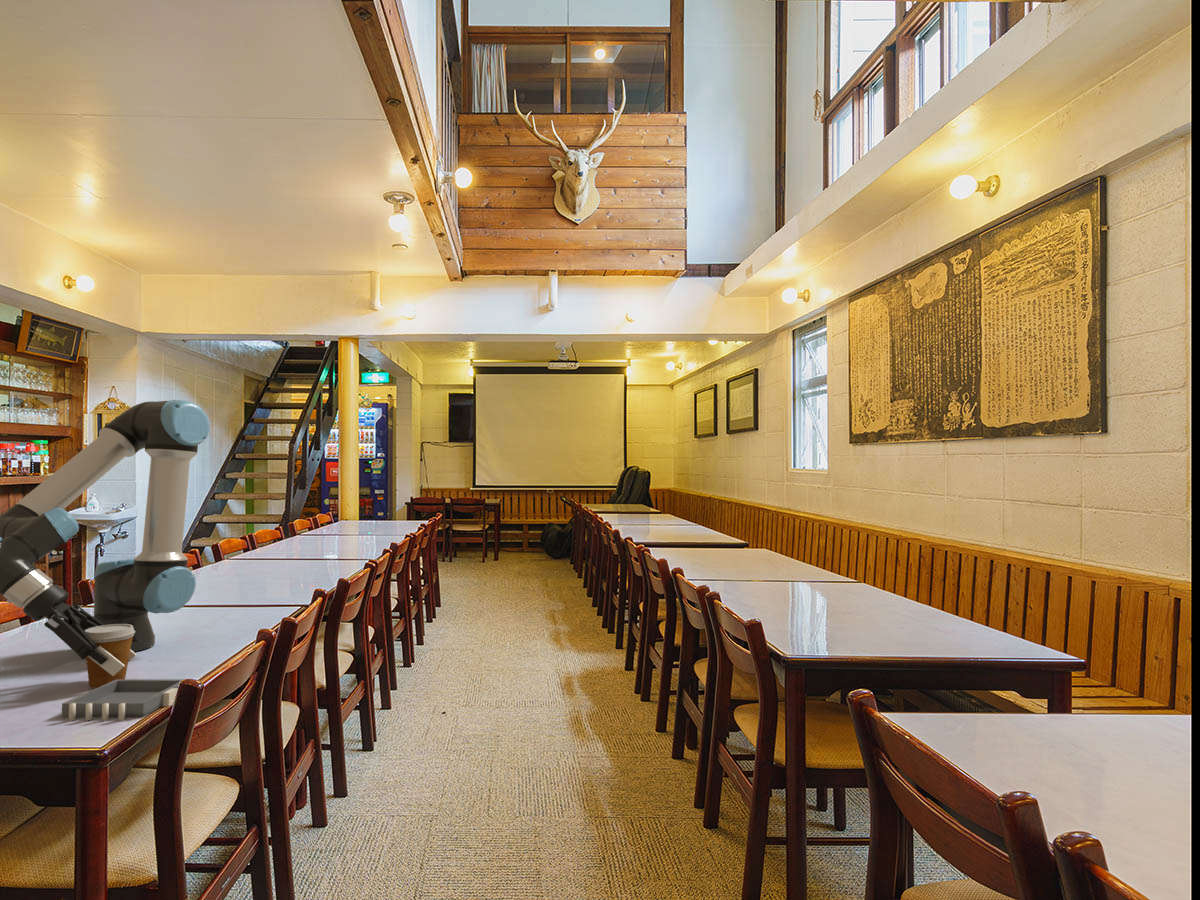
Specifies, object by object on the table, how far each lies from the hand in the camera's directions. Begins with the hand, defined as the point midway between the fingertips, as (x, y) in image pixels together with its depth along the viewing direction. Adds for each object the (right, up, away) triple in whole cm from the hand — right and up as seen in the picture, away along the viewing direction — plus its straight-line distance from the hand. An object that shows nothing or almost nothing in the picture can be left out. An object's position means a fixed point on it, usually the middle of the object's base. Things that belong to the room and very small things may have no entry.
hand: (125, 664), depth 149 cm
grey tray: (+11, -3, -15) cm, 19 cm away
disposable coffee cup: (-3, -4, -1) cm, 5 cm away
